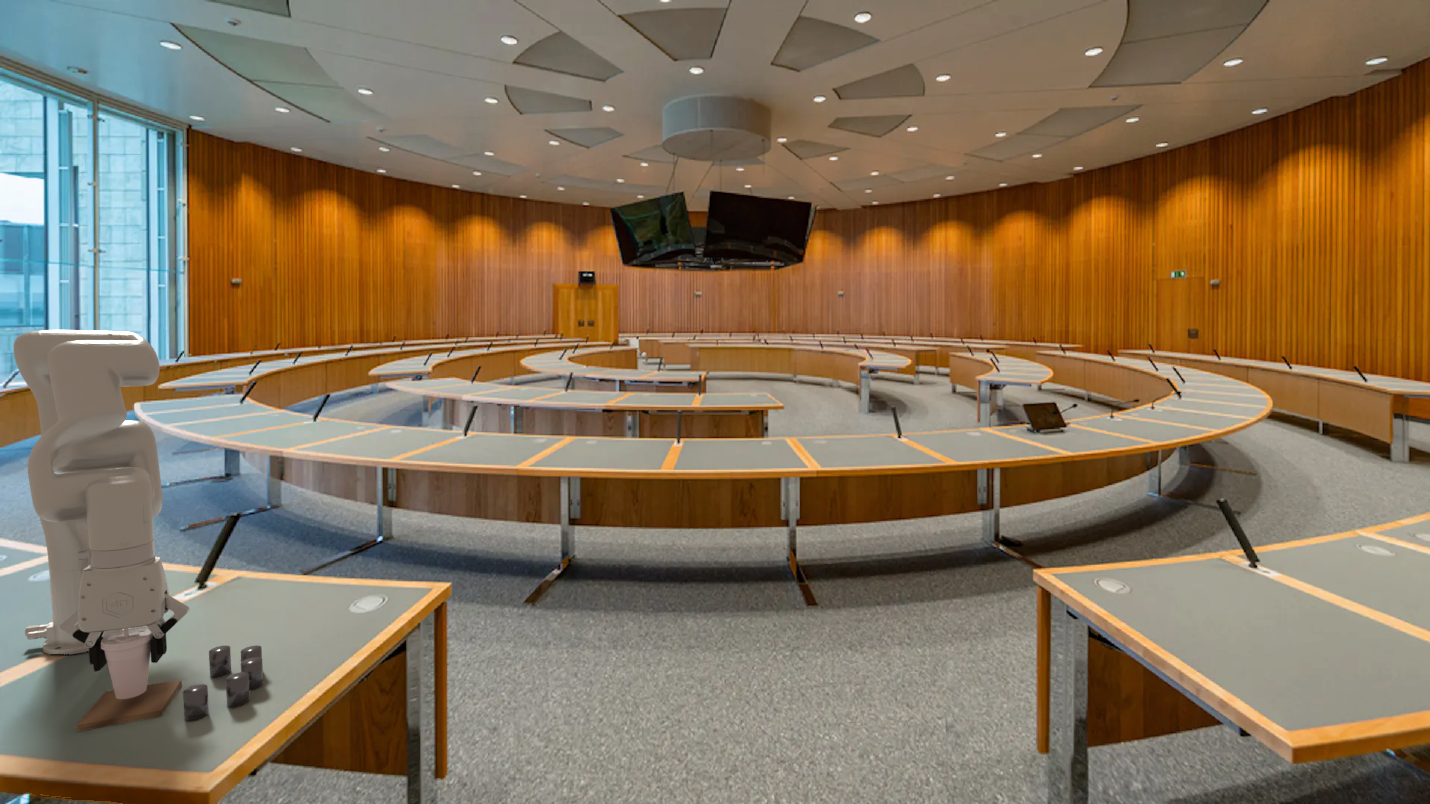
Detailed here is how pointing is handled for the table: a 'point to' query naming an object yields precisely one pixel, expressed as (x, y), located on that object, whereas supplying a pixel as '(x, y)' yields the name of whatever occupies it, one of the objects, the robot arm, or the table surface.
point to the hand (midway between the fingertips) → (129, 662)
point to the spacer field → (235, 683)
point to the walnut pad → (130, 706)
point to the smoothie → (128, 660)
